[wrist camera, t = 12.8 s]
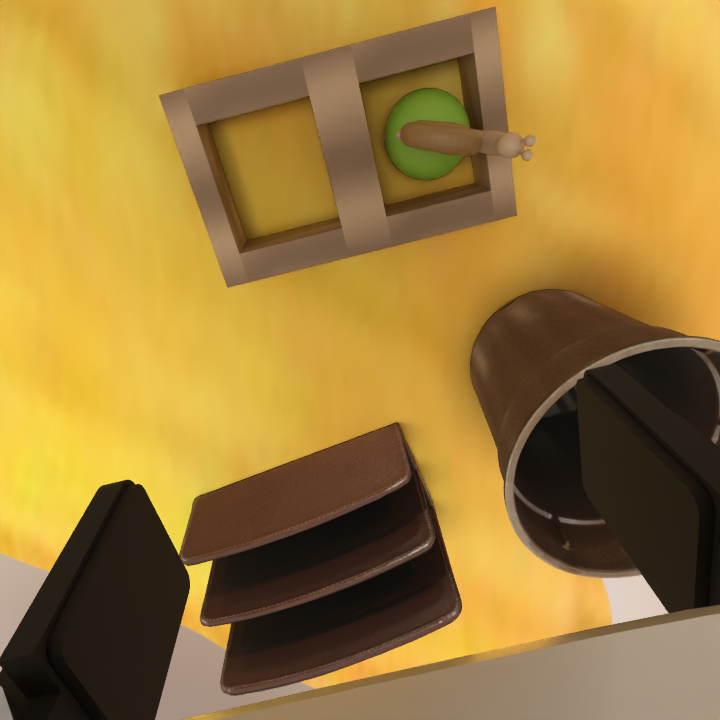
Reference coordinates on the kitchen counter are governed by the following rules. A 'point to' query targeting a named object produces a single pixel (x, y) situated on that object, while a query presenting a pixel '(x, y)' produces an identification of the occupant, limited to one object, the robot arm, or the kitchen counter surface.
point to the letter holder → (322, 563)
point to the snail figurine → (441, 136)
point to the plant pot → (575, 412)
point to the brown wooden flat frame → (347, 147)
